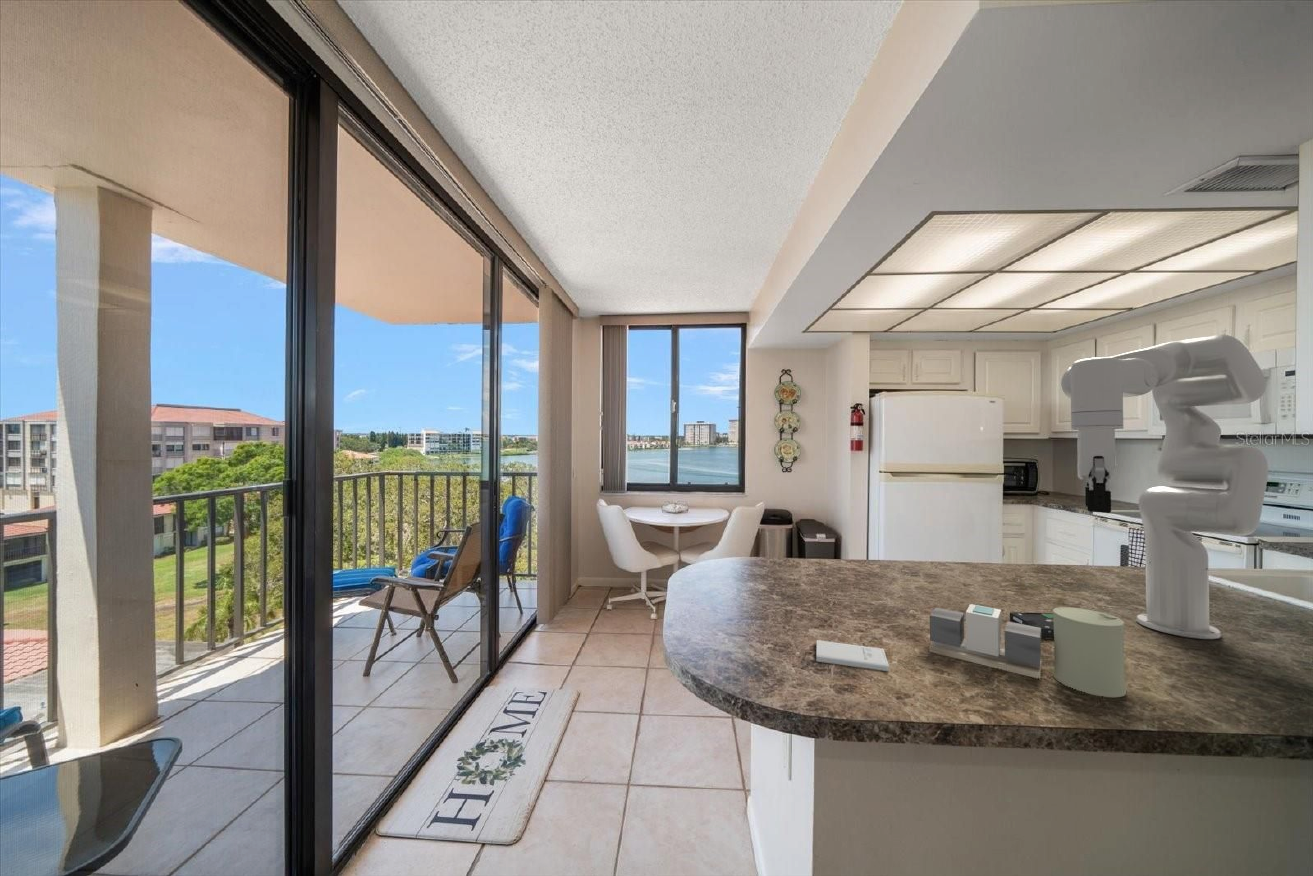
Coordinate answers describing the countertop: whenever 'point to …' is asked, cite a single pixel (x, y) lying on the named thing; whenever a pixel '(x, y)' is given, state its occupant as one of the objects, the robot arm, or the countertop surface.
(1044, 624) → the disk drive
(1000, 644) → the block
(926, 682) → the countertop surface
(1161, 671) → the countertop surface
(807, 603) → the countertop surface
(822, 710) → the countertop surface
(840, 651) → the external hard drive
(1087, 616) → the can
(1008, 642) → the board
